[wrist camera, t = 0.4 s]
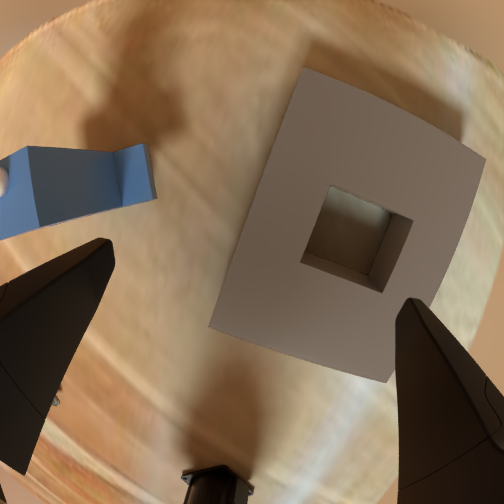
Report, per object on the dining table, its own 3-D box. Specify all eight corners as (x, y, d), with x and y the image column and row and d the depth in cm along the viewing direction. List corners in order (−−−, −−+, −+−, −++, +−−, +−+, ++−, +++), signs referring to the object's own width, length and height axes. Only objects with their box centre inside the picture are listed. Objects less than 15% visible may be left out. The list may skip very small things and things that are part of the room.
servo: (176, 194, 24) (65, 219, 10) (83, 217, 25) (-43, 255, 11) (168, 148, 23) (51, 126, 10) (75, 176, 24) (-54, 189, 11)
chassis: (373, 357, 25) (386, 383, 22) (218, 305, 25) (208, 327, 22) (459, 160, 21) (485, 159, 17) (299, 84, 21) (303, 66, 17)
